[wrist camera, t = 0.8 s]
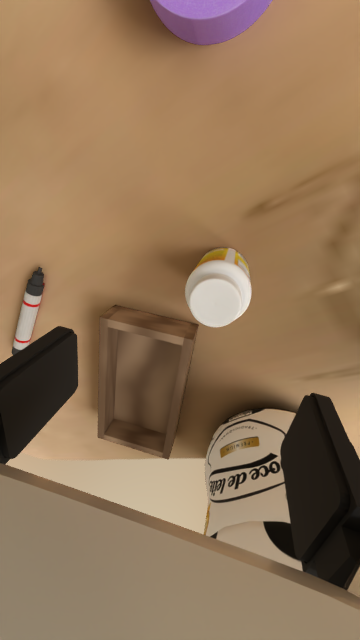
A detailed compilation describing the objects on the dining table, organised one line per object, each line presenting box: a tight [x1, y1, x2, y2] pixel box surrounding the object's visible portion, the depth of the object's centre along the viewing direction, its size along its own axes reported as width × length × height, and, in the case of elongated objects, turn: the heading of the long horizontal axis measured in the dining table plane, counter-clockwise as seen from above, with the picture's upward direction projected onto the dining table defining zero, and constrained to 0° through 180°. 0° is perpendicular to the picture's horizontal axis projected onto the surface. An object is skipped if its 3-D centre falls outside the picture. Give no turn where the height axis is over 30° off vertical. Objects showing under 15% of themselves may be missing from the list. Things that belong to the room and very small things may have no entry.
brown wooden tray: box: [98, 305, 198, 459], centre depth 35 cm, size 11×20×4 cm, turn 171°
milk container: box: [204, 408, 303, 571], centre depth 29 cm, size 17×17×18 cm
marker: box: [12, 267, 44, 355], centre depth 36 cm, size 15×2×2 cm, turn 152°
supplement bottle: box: [185, 247, 252, 327], centre depth 24 cm, size 6×6×10 cm
